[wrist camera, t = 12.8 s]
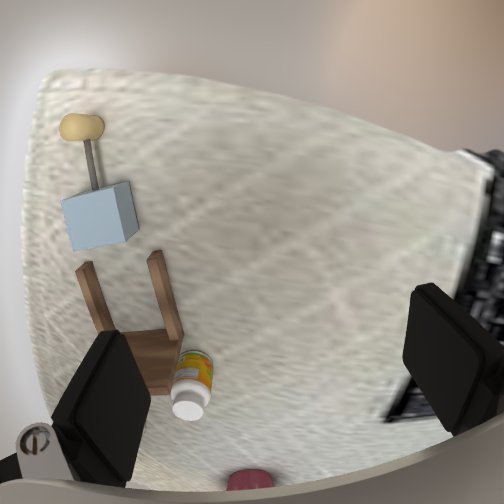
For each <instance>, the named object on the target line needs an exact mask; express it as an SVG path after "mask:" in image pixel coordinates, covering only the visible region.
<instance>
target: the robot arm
mask: <svg viewBox="0 0 504 504" xmlns="http://www.w3.org/2000/svg"><path fill="white" fill-rule="evenodd" d="M503 354H504V346H503V345H502V344H501V343H500V342H498V341H497V340H496V339H495V338H494V337H493V336H492V335H491V334H490V333H489V332H488V331H487V330H486V329H485V328H484V327H483V326H482V325H481V324H479V323H478V322H477V321H476V320H475V319H474V318H473V317H472V316H471V315H470V314H469V313H467V312H466V311H465V310H464V309H463V308H462V307H461V306H460V305H458V304H457V303H456V302H455V301H454V300H453V299H452V298H450V297H449V296H448V295H447V294H446V293H445V292H443V291H442V290H441V289H440V288H439V287H438V286H436V285H435V284H434V283H427V284H422V285H418V286H416V288H415V291H413V292H412V293H411V298H410V307H409V315H408V323H407V330H406V337H405V343H404V349H403V362H404V365H405V366H406V368H407V369H408V371H409V372H410V374H411V376H412V377H413V379H414V380H415V382H416V383H417V385H418V386H419V388H420V390H421V391H422V393H423V394H424V396H425V397H426V399H427V401H428V402H429V404H430V406H431V407H432V409H433V410H434V412H435V414H436V415H437V417H438V419H439V420H440V422H441V424H442V425H443V427H444V429H445V430H446V431H447V432H451V433H452V435H453V437H452V438H450V439H448V440H446V441H443V442H441V443H439V444H436V445H434V446H431V447H429V448H426V449H424V450H421V451H419V452H416V453H413V454H411V455H408V456H405V457H402V458H399V459H396V460H393V461H390V462H387V463H384V464H380V465H377V466H374V467H370V468H367V469H363V470H359V471H356V472H352V473H348V474H344V475H339V476H335V477H330V478H326V479H321V480H316V481H310V482H305V483H299V484H293V485H286V486H278V487H270V488H261V489H251V490H237V491H217V492H175V491H156V490H143V489H132V488H125V486H126V482H127V481H130V480H131V478H132V474H133V470H134V465H135V461H136V457H137V453H138V449H139V445H140V441H141V437H142V435H143V434H144V432H145V428H146V423H145V422H146V418H147V414H148V410H149V407H150V403H151V396H150V392H149V390H148V388H147V386H146V384H145V381H144V379H143V377H142V375H141V373H140V370H139V368H138V366H137V363H136V361H135V359H134V356H133V354H132V351H131V349H130V346H129V344H128V341H127V339H126V337H125V335H124V334H121V333H120V332H119V331H118V330H106V331H101V332H100V333H99V334H98V336H97V338H96V339H95V341H94V342H93V344H92V346H91V347H90V349H89V351H88V352H87V354H86V356H85V357H84V359H83V361H82V362H81V364H80V366H79V367H78V369H77V371H76V373H75V374H74V376H73V378H72V380H71V381H70V383H69V385H68V387H67V388H66V390H65V392H64V394H63V396H62V397H61V399H60V401H59V403H58V405H57V407H56V409H55V410H54V412H53V414H52V416H51V418H52V420H53V421H54V422H53V424H52V426H50V425H48V424H46V423H35V424H31V425H29V426H28V427H26V428H25V429H24V430H23V431H22V432H21V433H20V434H19V436H18V438H17V441H16V451H17V452H16V453H14V454H12V455H10V456H8V457H6V458H4V459H2V460H0V504H504V355H503Z"/></svg>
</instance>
